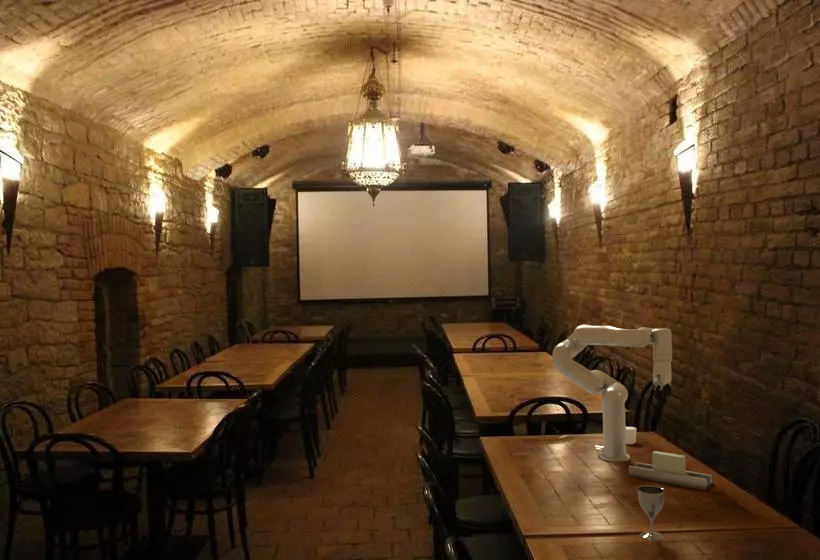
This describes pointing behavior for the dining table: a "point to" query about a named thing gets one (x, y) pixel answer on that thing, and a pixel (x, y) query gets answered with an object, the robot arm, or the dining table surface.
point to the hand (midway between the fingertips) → (663, 397)
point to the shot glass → (630, 435)
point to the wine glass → (651, 507)
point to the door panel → (669, 462)
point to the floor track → (671, 476)
